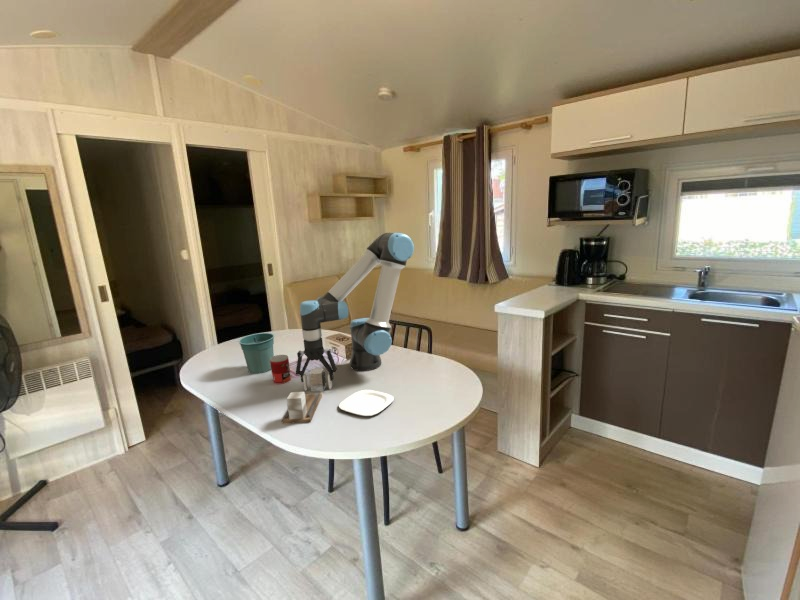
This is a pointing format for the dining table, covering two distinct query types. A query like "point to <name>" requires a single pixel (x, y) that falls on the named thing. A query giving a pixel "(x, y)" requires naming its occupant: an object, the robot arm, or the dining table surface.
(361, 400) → the plate
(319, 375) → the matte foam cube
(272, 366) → the canned food
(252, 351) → the flower pot
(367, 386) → the dining table surface
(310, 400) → the rail board
